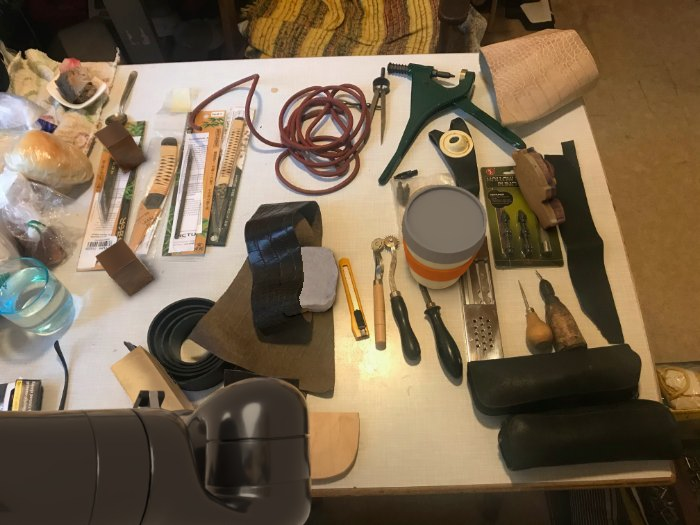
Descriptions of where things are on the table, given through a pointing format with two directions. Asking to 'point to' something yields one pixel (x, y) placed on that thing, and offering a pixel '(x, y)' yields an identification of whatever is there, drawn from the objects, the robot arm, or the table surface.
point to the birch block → (148, 379)
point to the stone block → (318, 279)
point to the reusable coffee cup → (442, 234)
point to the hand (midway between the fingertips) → (123, 449)
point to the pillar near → (125, 267)
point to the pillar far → (120, 146)
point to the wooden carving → (538, 186)
